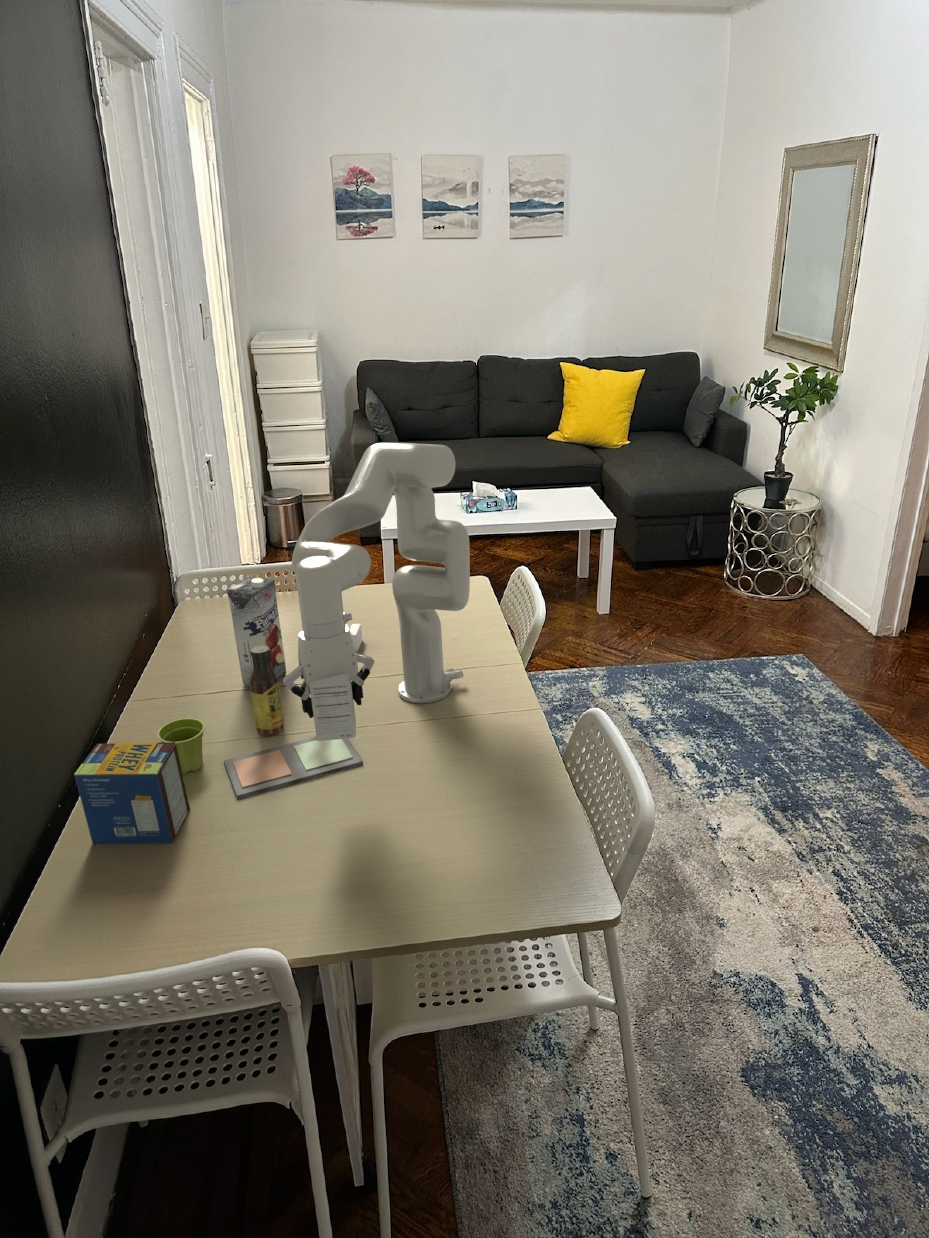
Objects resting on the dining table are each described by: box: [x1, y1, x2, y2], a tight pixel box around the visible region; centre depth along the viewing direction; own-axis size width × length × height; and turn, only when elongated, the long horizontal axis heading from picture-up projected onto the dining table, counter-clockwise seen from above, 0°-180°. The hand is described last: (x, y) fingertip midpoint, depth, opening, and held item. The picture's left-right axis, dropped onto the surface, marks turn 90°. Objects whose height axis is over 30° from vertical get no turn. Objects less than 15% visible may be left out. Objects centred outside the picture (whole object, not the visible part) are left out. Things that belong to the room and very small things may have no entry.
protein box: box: [73, 741, 191, 845], centre depth 164 cm, size 10×15×16 cm
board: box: [223, 735, 364, 800], centre depth 184 cm, size 26×14×1 cm, turn 114°
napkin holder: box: [349, 623, 363, 653], centre depth 232 cm, size 15×11×6 cm
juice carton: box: [226, 576, 287, 688], centre depth 214 cm, size 9×10×27 cm
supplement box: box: [309, 673, 357, 741], centre depth 165 cm, size 7×7×13 cm
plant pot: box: [157, 717, 206, 774], centre depth 184 cm, size 9×9×9 cm
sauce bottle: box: [250, 645, 285, 736], centre depth 194 cm, size 7×6×20 cm
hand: (333, 708), depth 166 cm, fingers closed on supplement box, 8 cm apart
